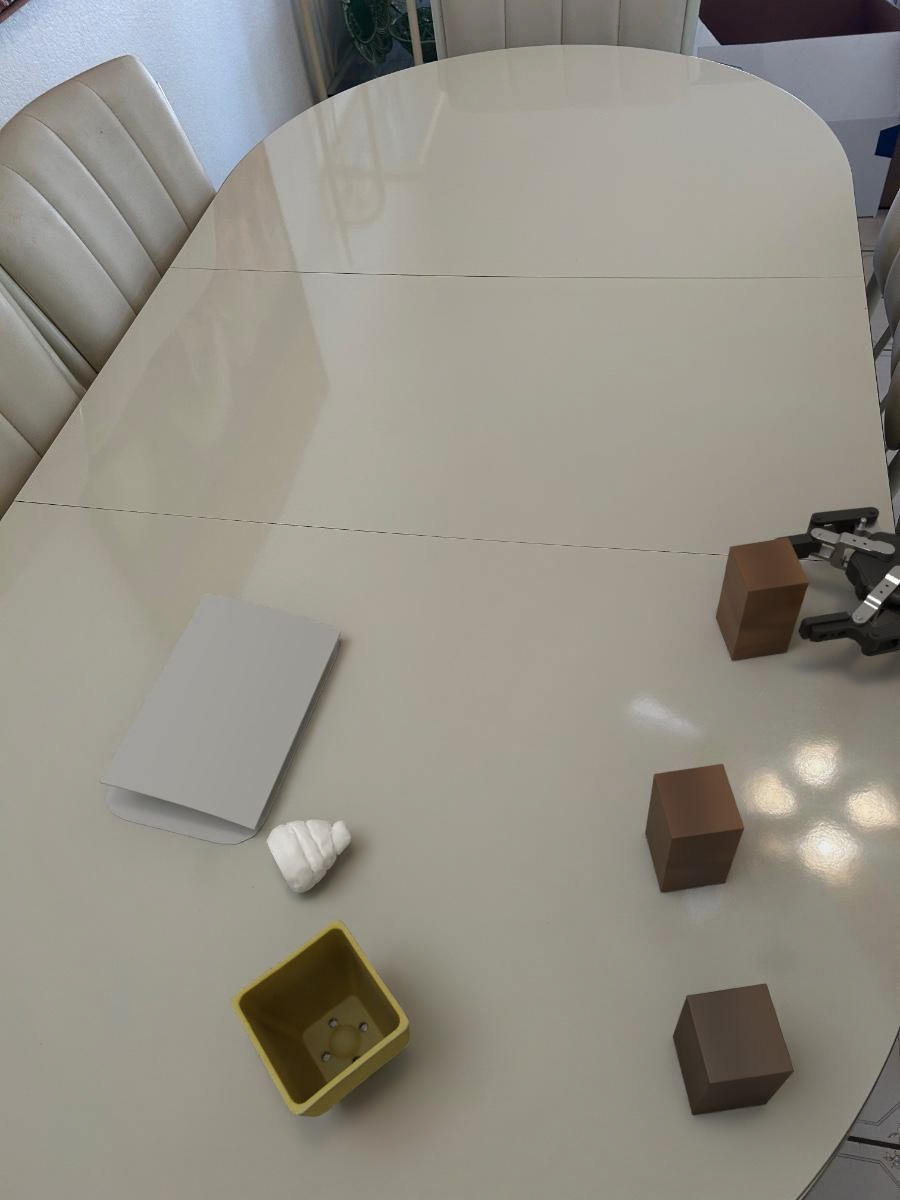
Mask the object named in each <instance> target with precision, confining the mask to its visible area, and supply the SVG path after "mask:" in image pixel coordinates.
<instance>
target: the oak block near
mask: <svg viewBox="0 0 900 1200" xmlns="http://www.w3.org/2000/svg"><path fill="white" fill-rule="evenodd" d="M672 1039H673V1043H674V1049H675V1051H676V1056H677V1059H678V1064H679V1068H680V1072H681V1075H682V1080H683V1084H684V1088H685V1092H686V1096H687V1099H688V1103H689V1108H690V1112H691V1116H699V1115H705V1114H706V1115H707V1114H711V1113H712V1114H713V1113H719V1112H724V1111H725V1112H726V1111H732V1110H738V1109H745V1108H746V1109H747V1108H751V1107H758V1106H764V1105H767V1104H768V1102H769V1101H770V1100H771V1099H772V1098H773V1097H774V1096H775V1095H776V1094H777V1092H778V1091H779V1090H780V1089H781V1087H782V1086H783V1085H784V1084H785V1083H786V1082H787V1080H788V1079H789V1078H790V1077H791V1076H792V1075H793V1073H795V1068H794V1065H793V1061H792V1059H791V1056H790V1052H789V1049H788V1046H787V1043H786V1040H785V1036H784V1034H783V1031H782V1027H781V1025H780V1021H779V1018H778V1015H777V1012H776V1009H775V1006H774V1002H773V999H772V996H771V993H770V990H769V987H768V984H767V983H759V984H753V985H747V986H740V987H739V986H738V987H733V988H726V989H720V990H719V989H718V990H713V991H707V992H700V993H693V994H688V995H686V996H685V1000H684V1002H683V1005H682V1008H681V1010H680V1014H679V1016H678V1020H677V1023H676V1026H675V1028H674V1031H673V1034H672Z"/></svg>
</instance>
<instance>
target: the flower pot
mask: <svg viewBox="0 0 900 1200" xmlns="http://www.w3.org/2000/svg"><path fill="white" fill-rule="evenodd" d="M230 1007H231V1008H232V1010H233V1013H234V1014H235V1015H236V1017H237V1019H238V1020H239V1022H240V1024H241V1025H242V1027H243V1029H244V1031H245V1032H246V1034H247V1036H248V1038H249V1039H250V1041H251V1043H252V1045H253V1047H254V1048H255V1050H256V1052H257V1054H258V1055H259V1057H260V1059H261V1061H262V1063H263V1065H264V1067H265V1068H266V1070H267V1072H268V1074H269V1075H270V1077H271V1079H272V1081H273V1083H274V1085H275V1086H276V1088H277V1090H278V1092H279V1093H280V1096H281V1098H282V1099H283V1101H284V1103H285V1105H286V1107H287V1108H288V1110H289V1112H290V1113H291V1114H292V1115H293V1116H298V1117H299V1116H300V1117H307V1118H309V1117H312V1118H316V1117H320V1116H322V1115H324V1114H325V1113H326V1112H329V1110H330V1109H332V1108H333V1107H334V1106H335V1105H337V1104H338V1103H339V1102H340V1101H341V1100H343V1099H344V1098H345V1097H346V1096H347V1095H349V1094H350V1093H351V1092H352V1091H353V1090H355V1089H356V1088H357V1087H359V1086H360V1085H361V1084H362V1083H363V1082H364V1081H366V1080H367V1079H368V1078H369V1077H371V1076H372V1075H373V1074H374V1073H375V1072H377V1071H378V1070H380V1068H382V1067H383V1066H385V1065H386V1064H387V1063H388V1062H389V1061H390V1060H392V1059H393V1058H395V1057H396V1056H398V1054H399V1053H401V1052H402V1051H404V1049H406V1047H407V1046H408V1045H409V1043H410V1039H411V1033H410V1032H411V1031H410V1020H409V1018H408V1015H407V1014H406V1012H405V1011H404V1010H403V1008H402V1006H401V1005H400V1004H399V1002H398V1001H397V999H396V998H395V996H394V995H393V994H392V992H391V991H390V989H389V988H388V986H387V985H386V984H385V982H384V980H383V979H382V978H381V976H380V975H379V973H378V972H377V970H376V969H375V968H374V966H373V965H372V963H371V962H370V960H369V959H368V957H367V956H366V954H365V953H364V951H363V949H362V948H361V946H360V945H359V944H358V942H357V940H356V939H355V937H354V935H353V934H352V933H351V931H350V930H349V928H348V927H347V925H346V924H345V922H343V921H342V920H341V919H335V920H333V921H332V922H330V923H328V925H326V926H324V928H322V929H321V930H320V931H318V932H317V933H316V934H314V935H313V936H312V937H311V938H310V939H308V940H307V941H306V942H304V943H303V944H301V945H300V946H299V947H298V948H296V949H295V950H294V951H293V952H292V953H290V954H289V955H287V956H286V957H285V958H284V959H282V960H280V962H278V963H276V964H275V965H274V966H273V967H270V968H269V969H268V970H267V971H265V972H264V973H262V974H261V975H260V976H258V977H257V978H256V979H254V980H253V981H251V982H250V983H249V984H247V985H246V986H244V987H243V988H241V989H240V990H239V991H238V992H237V993H236V994H234V995H233V996H232V998H231V999H230ZM332 1020H335V1021H336V1025H335V1026H334V1027H333V1026H331V1021H332ZM363 1024H365V1025H366V1030H365V1031H362V1030H361V1026H362V1025H363ZM325 1054H329V1059H328V1060H327V1061H325V1060H324V1058H323V1057H324V1055H325ZM356 1058H358V1059H356ZM355 1059H356V1060H355Z"/></svg>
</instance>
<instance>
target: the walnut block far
mask: <svg viewBox="0 0 900 1200" xmlns="http://www.w3.org/2000/svg"><path fill="white" fill-rule="evenodd" d="M774 539H775V540H774ZM774 539H769V540H763V541H762V540H761V541H756V542H750V543H744V544H737V545H731V546H729V550H728V555H727V560H726V564H725V570H724V575H723V580H722V585H721V590H720V593H719V594H720V595H719V599H718V604H717V610H716V613H715V620H716V622H717V625H718V628H719V630H720V633H721V635H722V638H723V641H724V643H725V646H726V649H727V651H728V654H729V657H730V659H731V661H738V660H739V661H740V660H745V659H752V658H759V657H765V656H770V655H777V654H785V653H788V650H789V647H790V644H791V640H792V638H793V634H794V630H795V627H796V625H797V621H798V618H799V615H800V612H801V609H802V607H803V606H802V605H803V602H804V599H805V596H806V593H807V590H808V587H809V583H810V581H809V579H808V576H807V574H806V572H805V571H804V569H803V566H802V564H801V561H800V559H798V557H797V555H796V553H795V551H794V549H793V547H792V545H791V542H790V540H789V538H781V539H776V538H774Z"/></svg>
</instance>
